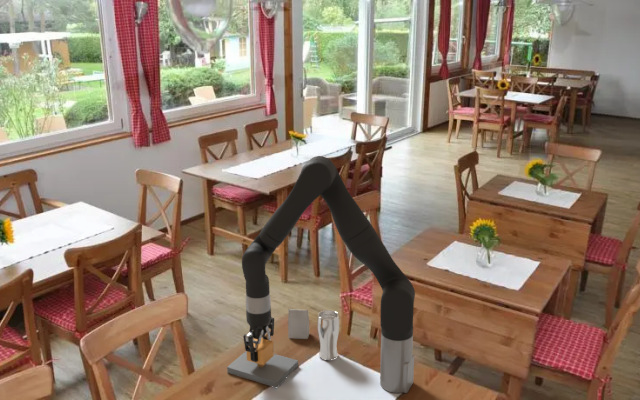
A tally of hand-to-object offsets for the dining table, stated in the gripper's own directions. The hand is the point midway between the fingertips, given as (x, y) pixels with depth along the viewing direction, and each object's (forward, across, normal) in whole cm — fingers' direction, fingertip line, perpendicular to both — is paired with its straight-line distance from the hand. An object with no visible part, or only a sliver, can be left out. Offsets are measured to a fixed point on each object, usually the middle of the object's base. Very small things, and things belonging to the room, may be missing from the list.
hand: (260, 355), depth 183 cm
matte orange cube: (+1, 0, 0) cm, 1 cm away
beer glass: (+6, +17, -15) cm, 23 cm away
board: (+5, +1, 0) cm, 6 cm away
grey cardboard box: (+6, +24, 0) cm, 25 cm away
